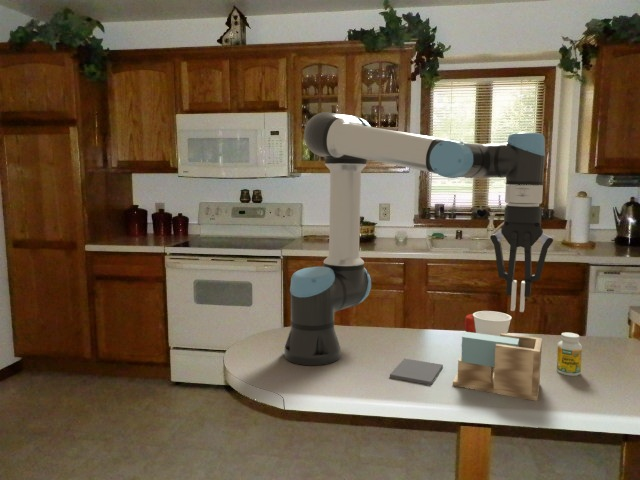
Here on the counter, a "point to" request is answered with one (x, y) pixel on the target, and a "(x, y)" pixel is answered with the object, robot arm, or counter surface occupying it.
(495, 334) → the cup
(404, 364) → the mat
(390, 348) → the counter surface
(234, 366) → the counter surface
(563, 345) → the supplement bottle
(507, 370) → the cradle
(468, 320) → the apple
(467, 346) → the bar
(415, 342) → the counter surface
